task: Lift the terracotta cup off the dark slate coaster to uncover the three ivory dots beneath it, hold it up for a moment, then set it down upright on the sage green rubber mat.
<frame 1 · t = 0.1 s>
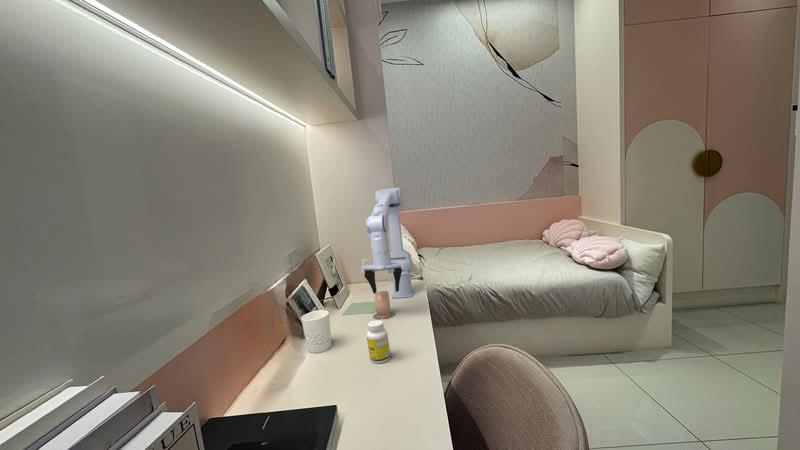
hand: (386, 291, 116), 10 cm above the table, tool pointing down, fingers open, 7 cm apart
mat: (362, 308, 133), on the table
coaster: (384, 315, 122), on the table
white cup: (320, 348, 102), on the table
terracotta cup: (384, 315, 122), on the table, touching coaster
supplement bottle: (380, 359, 91), on the table
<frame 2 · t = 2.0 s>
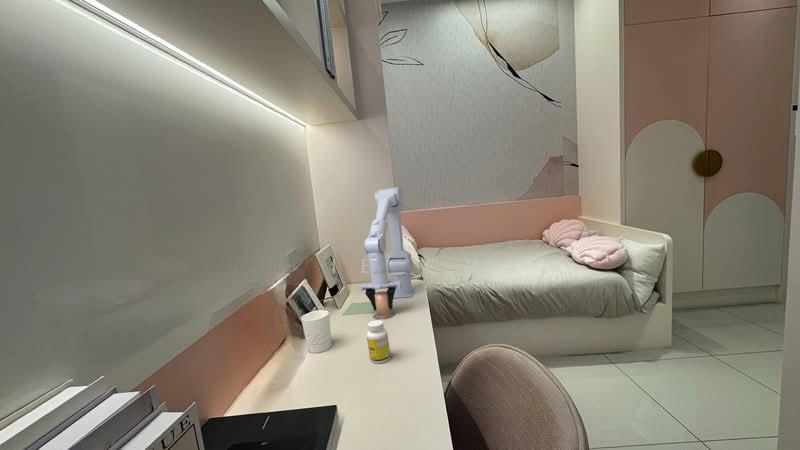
hand: (383, 308, 122), 2 cm above the table, tool pointing down, fingers closed on terracotta cup, 5 cm apart
terracotta cup: (384, 315, 122), on the table, touching coaster, gripper
everything else where it was.
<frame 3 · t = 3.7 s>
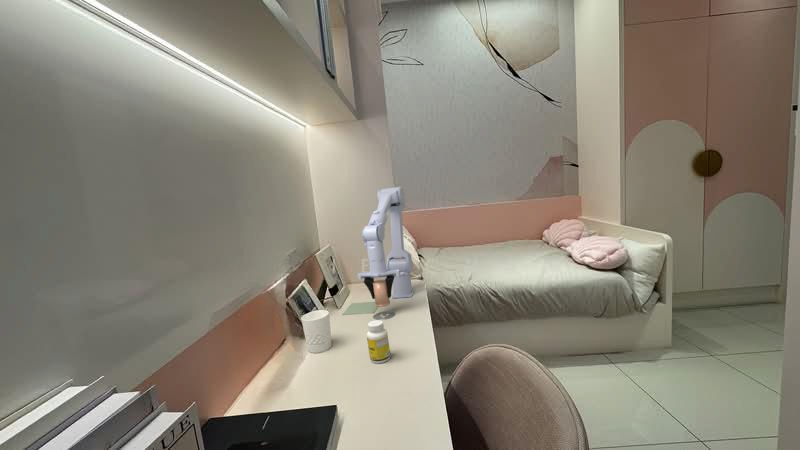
hand: (381, 297, 122), 7 cm above the table, tool pointing down, fingers closed on terracotta cup, 5 cm apart
terracotta cup: (382, 304, 122), point 4 cm above the table, touching gripper
everything else where it was.
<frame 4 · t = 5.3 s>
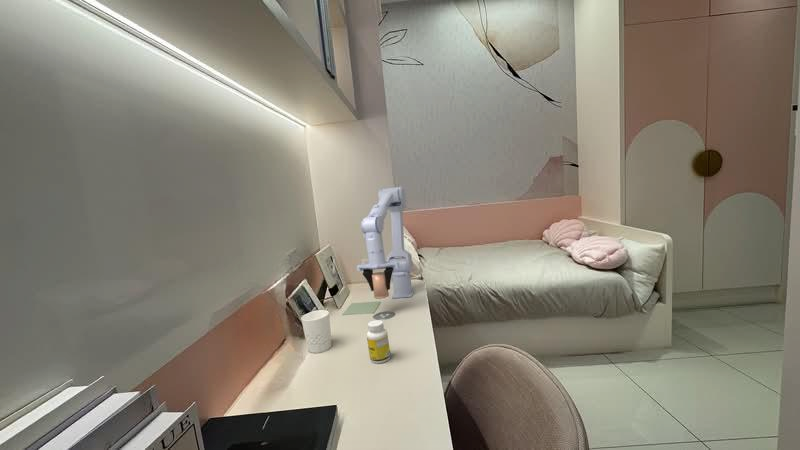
hand: (380, 289, 121), 9 cm above the table, tool pointing down, fingers closed on terracotta cup, 5 cm apart
terracotta cup: (381, 296, 122), point 7 cm above the table, touching gripper
everything else where it was.
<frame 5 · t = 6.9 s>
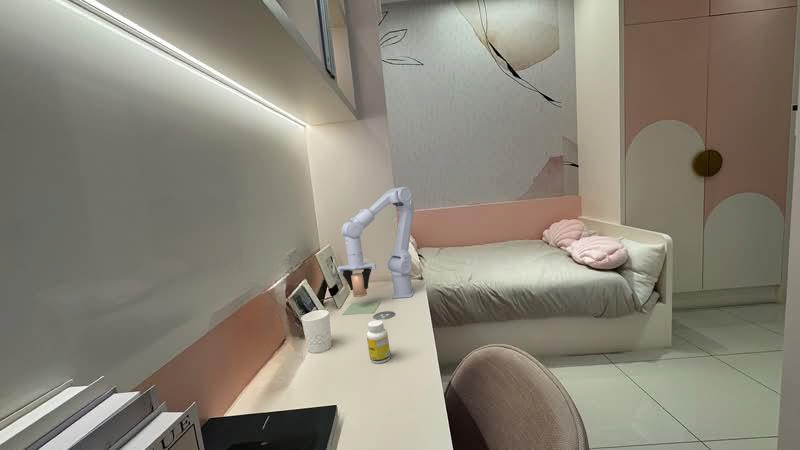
hand: (359, 288, 132), 8 cm above the table, tool pointing down, fingers closed on terracotta cup, 5 cm apart
terracotta cup: (360, 295, 132), point 5 cm above the table, touching gripper
everything else where it was.
when the fingers open (4 cm above the table, at t = 8.4 s): terracotta cup drops 1 cm, resting on mat.
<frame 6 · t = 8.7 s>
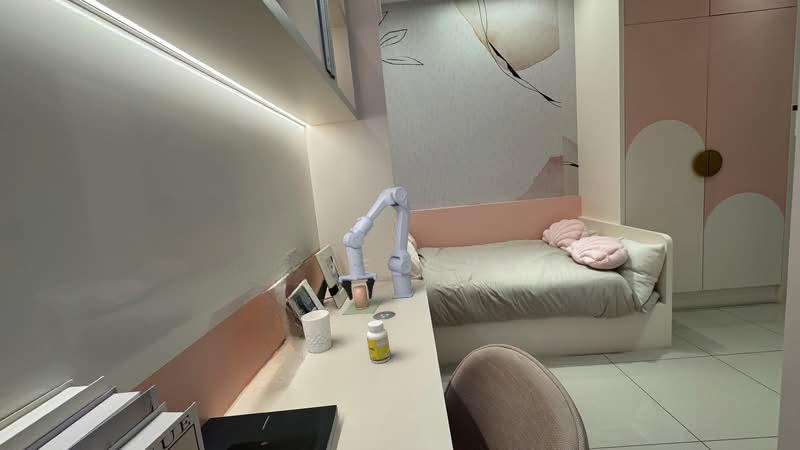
hand: (360, 298, 133), 4 cm above the table, tool pointing down, fingers open, 7 cm apart
terracotta cup: (362, 307, 133), resting on mat
everything else where it was.
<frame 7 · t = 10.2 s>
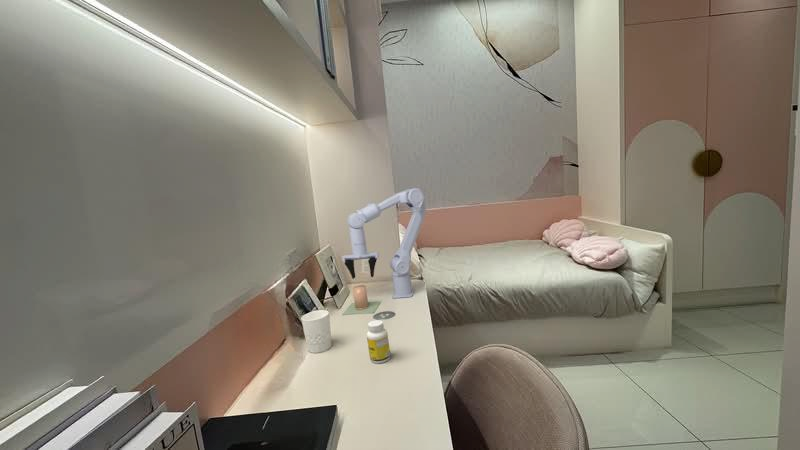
hand: (363, 277, 138), 10 cm above the table, tool pointing down, fingers open, 7 cm apart
nothing on the table moved.
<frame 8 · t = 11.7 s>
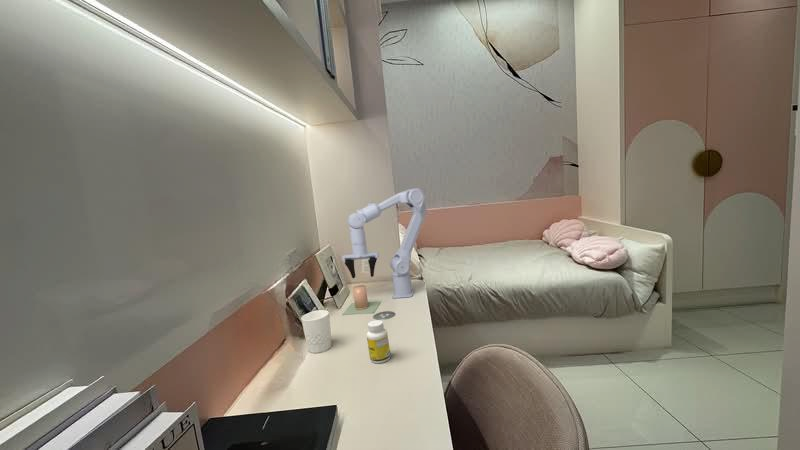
hand: (363, 276, 139), 10 cm above the table, tool pointing down, fingers open, 7 cm apart
nothing on the table moved.
at the end: terracotta cup inside the target area on the mat (0.0 cm from its centre), point 0.3 cm above the mat's base; terracotta cup tilted 0°; the gripper is holding nothing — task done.
